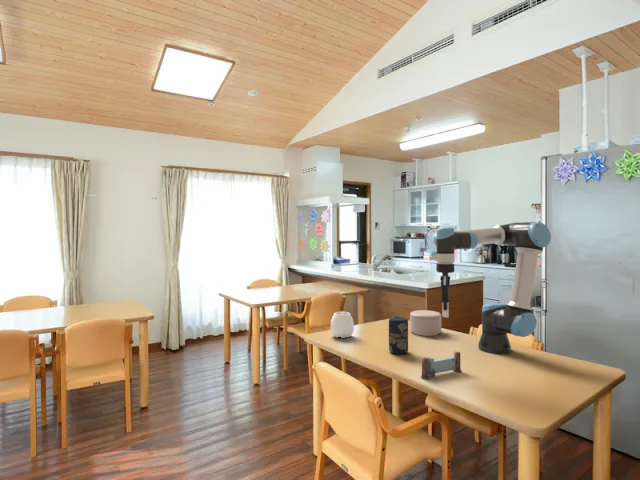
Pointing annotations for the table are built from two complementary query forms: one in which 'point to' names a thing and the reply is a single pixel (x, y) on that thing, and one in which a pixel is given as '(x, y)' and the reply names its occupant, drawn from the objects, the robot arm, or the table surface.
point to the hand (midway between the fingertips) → (445, 316)
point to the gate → (441, 364)
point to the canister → (398, 335)
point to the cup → (342, 324)
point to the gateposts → (432, 371)
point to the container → (425, 322)
